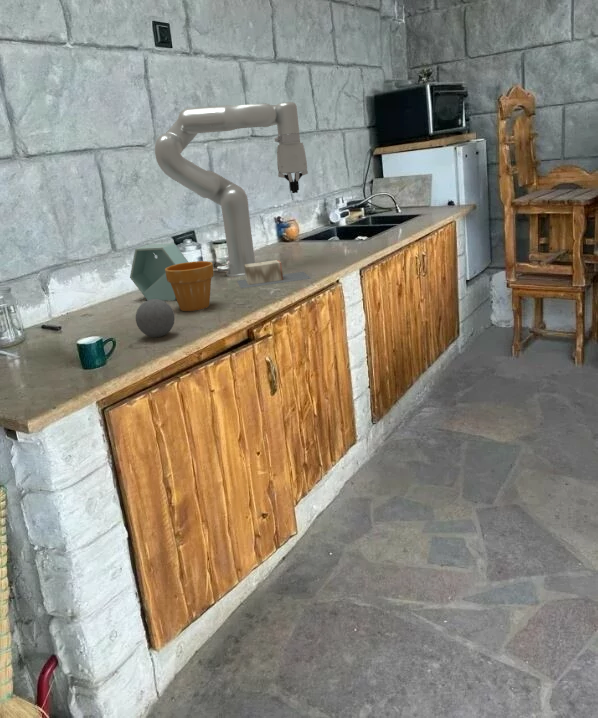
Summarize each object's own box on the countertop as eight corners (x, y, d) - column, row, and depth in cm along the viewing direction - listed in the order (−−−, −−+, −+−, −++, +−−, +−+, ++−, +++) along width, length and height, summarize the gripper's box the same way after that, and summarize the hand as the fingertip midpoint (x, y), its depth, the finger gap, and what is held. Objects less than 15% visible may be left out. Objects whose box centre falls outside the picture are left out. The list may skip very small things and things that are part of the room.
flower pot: (222, 300, 216) (216, 259, 212) (213, 311, 202) (207, 268, 198) (177, 304, 217) (171, 263, 213) (166, 315, 204) (159, 272, 200)
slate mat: (241, 289, 228) (240, 288, 228) (236, 282, 241) (236, 280, 241) (311, 279, 232) (311, 278, 231) (303, 272, 245) (303, 271, 245)
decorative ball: (175, 339, 177) (169, 301, 174) (136, 343, 177) (129, 306, 174) (178, 329, 187) (172, 293, 184) (142, 333, 186) (135, 297, 183)
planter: (158, 314, 227) (119, 264, 225) (169, 308, 234) (132, 259, 232) (191, 285, 219) (151, 233, 217) (202, 280, 226) (163, 229, 224)
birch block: (283, 279, 234) (248, 284, 232) (280, 276, 240) (246, 281, 238) (281, 262, 232) (246, 267, 230) (278, 259, 238) (244, 264, 236)
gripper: (270, 141, 238) (276, 195, 243) (312, 137, 240) (317, 190, 245) (267, 142, 245) (273, 194, 250) (307, 137, 247) (313, 189, 252)
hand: (294, 192), depth 248 cm, fingers closed
